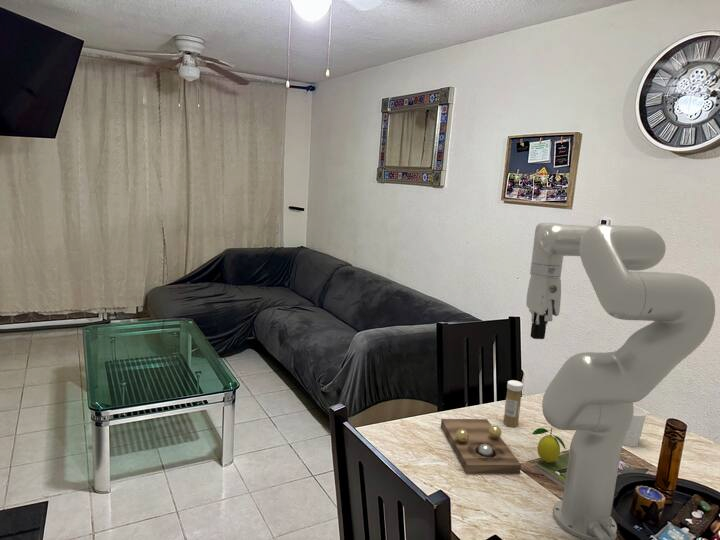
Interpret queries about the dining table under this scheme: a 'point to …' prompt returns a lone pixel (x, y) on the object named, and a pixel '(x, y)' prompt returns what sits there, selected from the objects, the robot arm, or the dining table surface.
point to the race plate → (478, 435)
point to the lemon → (548, 446)
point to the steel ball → (485, 451)
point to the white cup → (635, 428)
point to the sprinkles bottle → (512, 403)
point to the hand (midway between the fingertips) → (537, 337)
